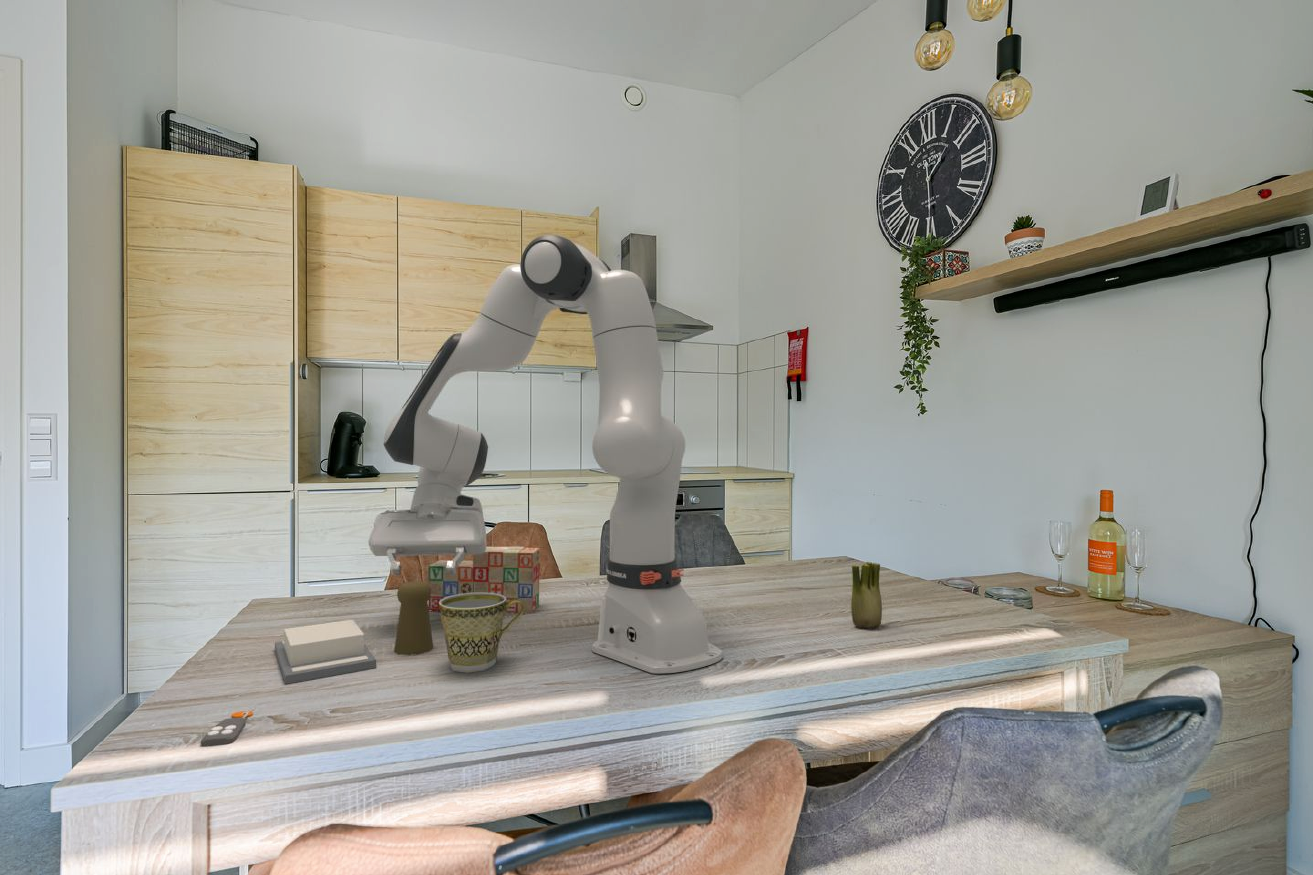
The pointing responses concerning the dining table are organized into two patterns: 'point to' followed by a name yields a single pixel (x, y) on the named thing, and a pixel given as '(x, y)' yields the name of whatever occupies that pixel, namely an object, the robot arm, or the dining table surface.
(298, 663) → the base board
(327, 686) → the dining table surface
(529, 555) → the stack of blocks
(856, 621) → the fennel bulb
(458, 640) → the ceramic cup
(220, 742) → the key chain
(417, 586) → the cork
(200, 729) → the dining table surface
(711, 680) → the dining table surface
